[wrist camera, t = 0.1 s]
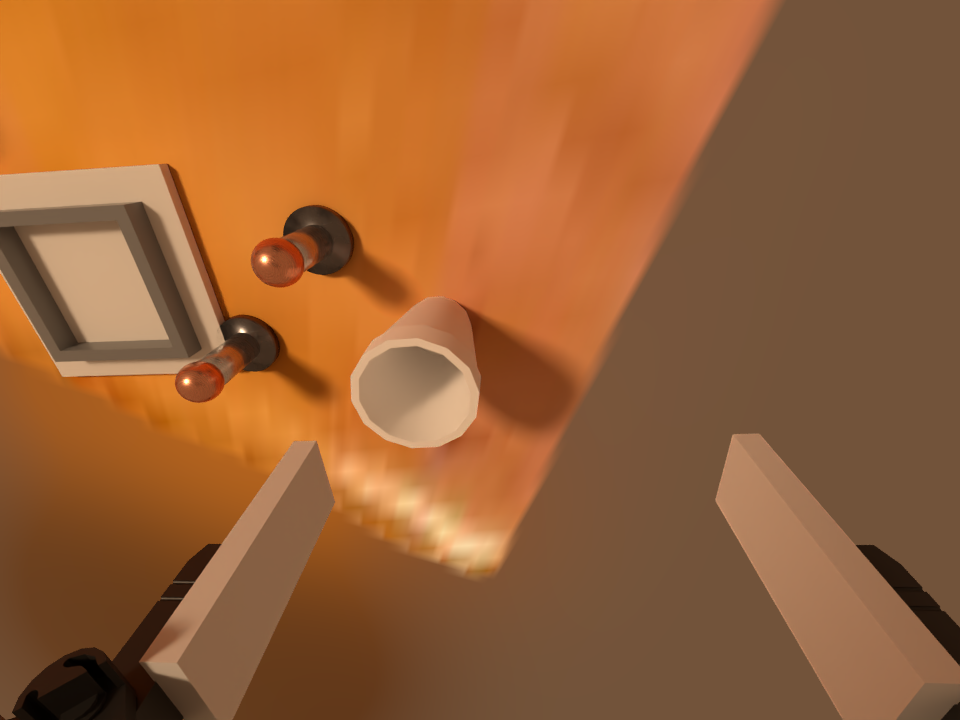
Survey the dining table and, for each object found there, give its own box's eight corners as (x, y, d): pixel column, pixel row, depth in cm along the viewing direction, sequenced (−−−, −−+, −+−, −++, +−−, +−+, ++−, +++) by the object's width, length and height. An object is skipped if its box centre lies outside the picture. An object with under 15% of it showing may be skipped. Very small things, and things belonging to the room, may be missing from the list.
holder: (-43, 177, 38) (-85, 180, 35) (167, 163, 36) (140, 165, 34) (71, 372, 47) (44, 386, 44) (241, 367, 45) (225, 381, 43)
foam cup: (382, 349, 44) (338, 425, 32) (405, 266, 39) (364, 319, 28) (469, 378, 45) (456, 461, 33) (500, 301, 40) (498, 365, 29)
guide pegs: (212, 342, 44) (139, 394, 35) (309, 189, 37) (247, 206, 28) (263, 376, 46) (205, 433, 37) (366, 237, 38) (324, 266, 29)
